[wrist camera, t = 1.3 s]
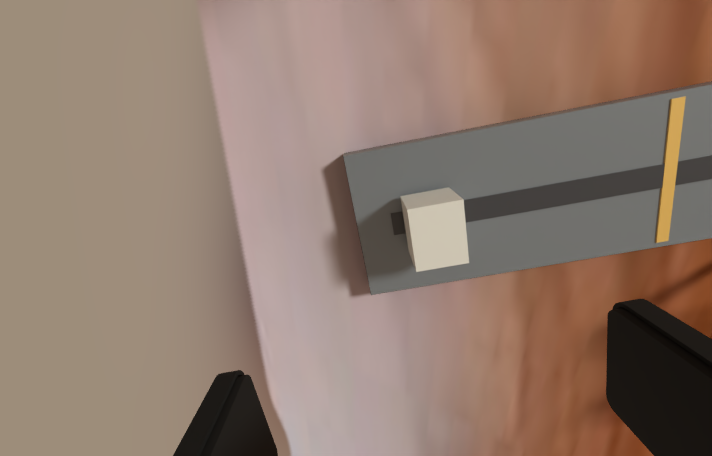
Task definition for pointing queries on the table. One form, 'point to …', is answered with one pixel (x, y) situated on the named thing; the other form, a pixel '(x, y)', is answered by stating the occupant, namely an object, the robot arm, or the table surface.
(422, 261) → the fader tab
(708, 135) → the board
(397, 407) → the table surface
